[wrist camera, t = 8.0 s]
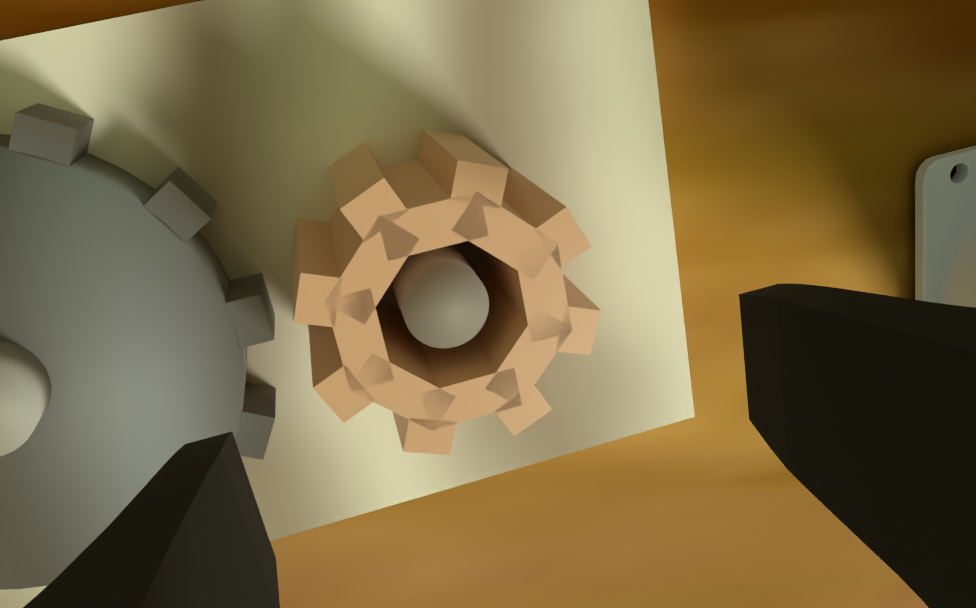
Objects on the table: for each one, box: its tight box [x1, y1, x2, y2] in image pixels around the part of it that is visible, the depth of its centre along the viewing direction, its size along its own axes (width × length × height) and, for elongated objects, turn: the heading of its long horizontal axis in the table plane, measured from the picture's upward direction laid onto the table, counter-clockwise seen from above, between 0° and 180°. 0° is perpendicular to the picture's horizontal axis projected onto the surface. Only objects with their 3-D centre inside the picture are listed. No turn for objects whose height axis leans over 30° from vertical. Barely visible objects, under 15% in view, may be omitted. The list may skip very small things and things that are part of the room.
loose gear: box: [292, 128, 601, 455], centre depth 17 cm, size 5×5×4 cm
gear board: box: [0, 0, 695, 608], centre depth 17 cm, size 20×12×4 cm, turn 101°
